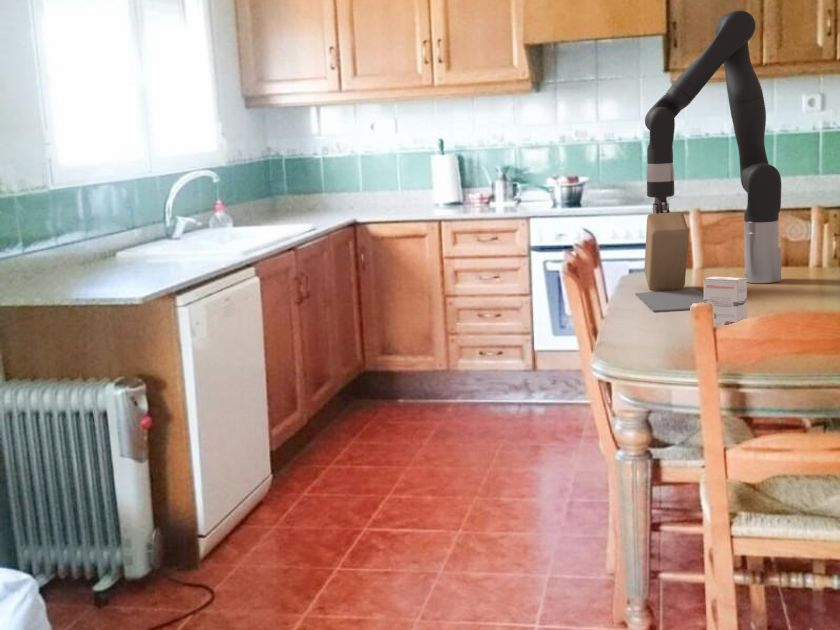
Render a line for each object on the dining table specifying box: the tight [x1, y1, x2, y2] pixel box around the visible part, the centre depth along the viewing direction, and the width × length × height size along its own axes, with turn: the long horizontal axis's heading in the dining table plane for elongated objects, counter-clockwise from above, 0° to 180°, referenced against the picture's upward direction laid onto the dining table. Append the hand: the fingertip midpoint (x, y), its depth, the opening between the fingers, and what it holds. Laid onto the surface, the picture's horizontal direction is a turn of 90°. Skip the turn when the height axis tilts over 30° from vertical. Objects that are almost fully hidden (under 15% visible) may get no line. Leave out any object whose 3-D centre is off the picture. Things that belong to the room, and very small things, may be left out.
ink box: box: [703, 276, 748, 326], centre depth 239 cm, size 9×5×12 cm, turn 48°
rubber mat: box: [634, 288, 704, 313], centre depth 279 cm, size 17×27×1 cm, turn 178°
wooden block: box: [644, 211, 690, 292], centre depth 292 cm, size 10×10×20 cm
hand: (661, 241), depth 299 cm, fingers closed
